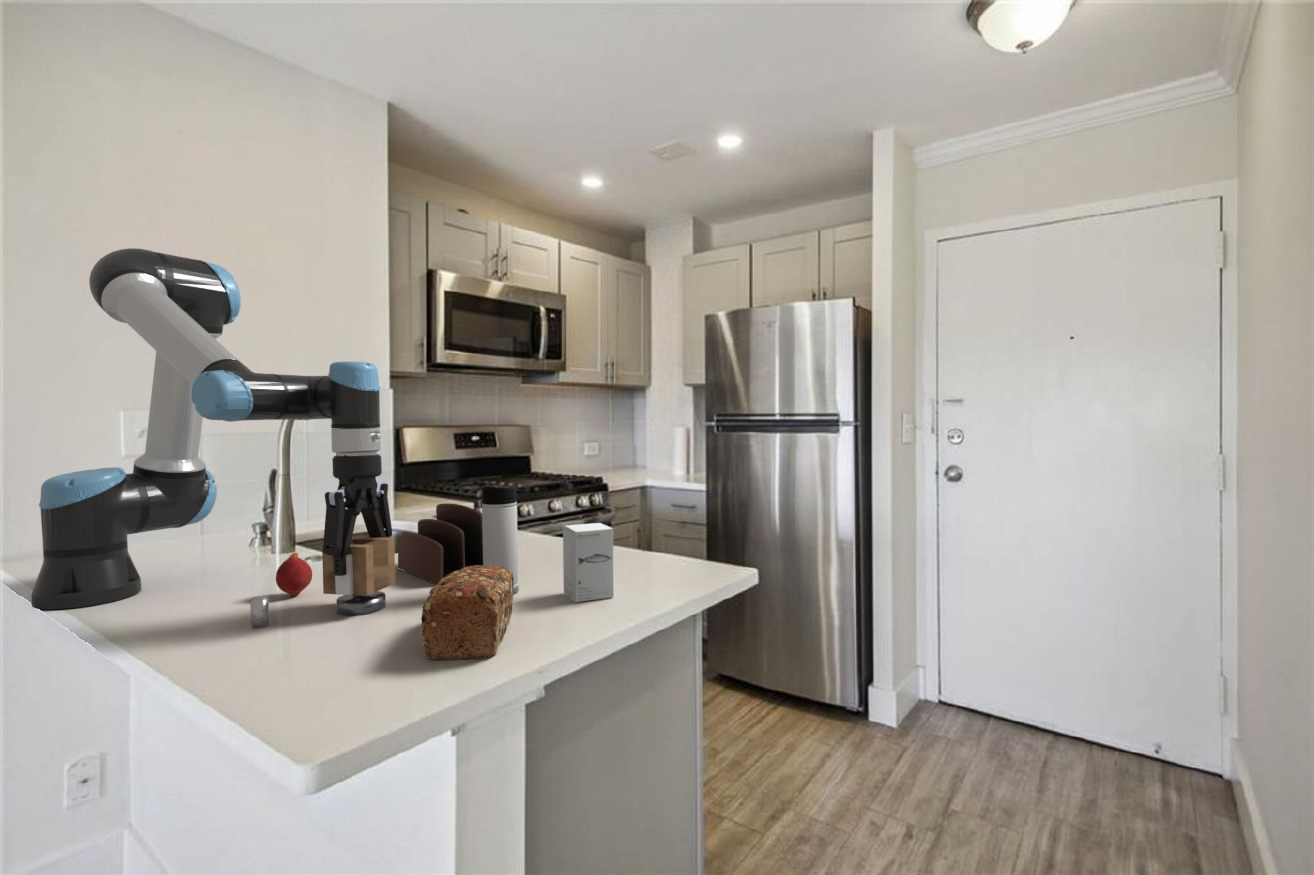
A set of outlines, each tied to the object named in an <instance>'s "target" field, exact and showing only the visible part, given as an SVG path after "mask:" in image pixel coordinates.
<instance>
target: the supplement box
mask: <svg viewBox="0 0 1314 875" xmlns="http://www.w3.org/2000/svg"><path fill="white" fill-rule="evenodd" d="M562 547H563V548H562V555H563V557H562V560H563V562H562V563H563V570H562V571H563V593H564V595H566V596H567V597H568V598H569V599H570V600H572V602H573V603H576V604H577V603H579V602H588V601H594V600H603V599H612V598H614V596H615V595H614V594H615V593H614V592H615V591H614V528H612V527H611V526H609V525H607V524H603V523H601V522H595V523H582V524H581V523H580V524H568V525H563V526H562Z"/></svg>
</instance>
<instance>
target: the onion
mask: <svg viewBox="0 0 1314 875" xmlns="http://www.w3.org/2000/svg"><path fill="white" fill-rule="evenodd" d="M312 579H313V570H312V568H311V566H310V564H309V563H308V562H307V561H306V560H304V559H302V558H301V557H299V553H298V552H291V554H290V555H289V557H288V558H287V559H285V560H284V561H283V562H282V563H281V564H280V565H279V567H278V568H277V571H276V573H275V583H276V586H277V587H278V589H280V591H282V592H283V593H286V594H288V595H289V596H292V597H297V596H299V595H300V594H301V593H302V592H303V591H304V590H305V589H306V588H307V587H308V586H309V585H310V584H311V582H312Z"/></svg>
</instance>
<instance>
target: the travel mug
mask: <svg viewBox="0 0 1314 875" xmlns="http://www.w3.org/2000/svg"><path fill="white" fill-rule="evenodd" d="M481 498H482V499H481V506H482V507H481V513H482V529H483V566H488V565H490V566H497V567H505V568H506V569H509V570H510V571H512V573H513V578H514V580H513V583H514V586H513V589H514V591H513V595H514V594H516V593H518V591H519V584H520V583H519V544H518V543H519V538H518V506H517V504H518V502H517V488H516V487H509V488H508V487H496V486H495V485H484V486H482V487H481Z"/></svg>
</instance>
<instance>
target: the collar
mask: <svg viewBox="0 0 1314 875" xmlns="http://www.w3.org/2000/svg"><path fill="white" fill-rule="evenodd" d="M341 548H342V547H341ZM395 550H396V549H395V537H390V538H384V537H369V536H352V539H351V544H350V548H349V552H348V554H352V565H353V594H352V595H359V596H368V595H370V594H372V593H375V592H377V591H381V590H383V589H385V588H387V587H390V586H392V585H394V584H396V558H395V557H396V556H395V555H396V554H395ZM321 551H322V552H321V554H322V560H321V561H322V584H323V585H322V589H323V591H322V593H323V594H324V595H336V587H335V575H334V561H333V556H332V555H327V554H324V553H323V545H322V546H321Z"/></svg>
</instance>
